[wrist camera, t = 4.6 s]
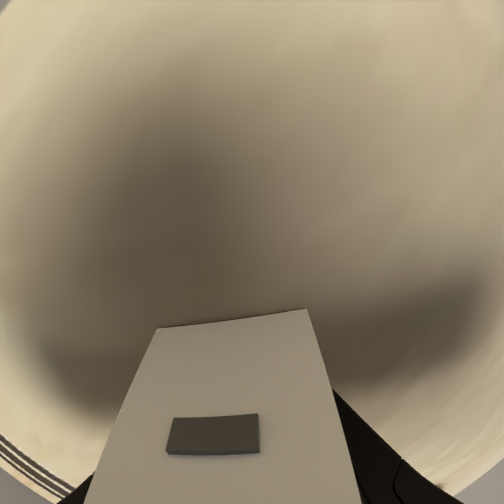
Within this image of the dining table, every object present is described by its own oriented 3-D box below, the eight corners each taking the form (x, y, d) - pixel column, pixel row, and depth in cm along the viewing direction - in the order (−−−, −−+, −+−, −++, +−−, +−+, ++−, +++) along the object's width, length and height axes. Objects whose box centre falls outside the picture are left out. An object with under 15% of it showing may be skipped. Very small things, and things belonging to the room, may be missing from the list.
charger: (306, 303, 8) (367, 521, 2) (317, 456, 11) (333, 565, 5) (155, 324, 8) (75, 509, 2) (223, 466, 11) (216, 572, 5)
